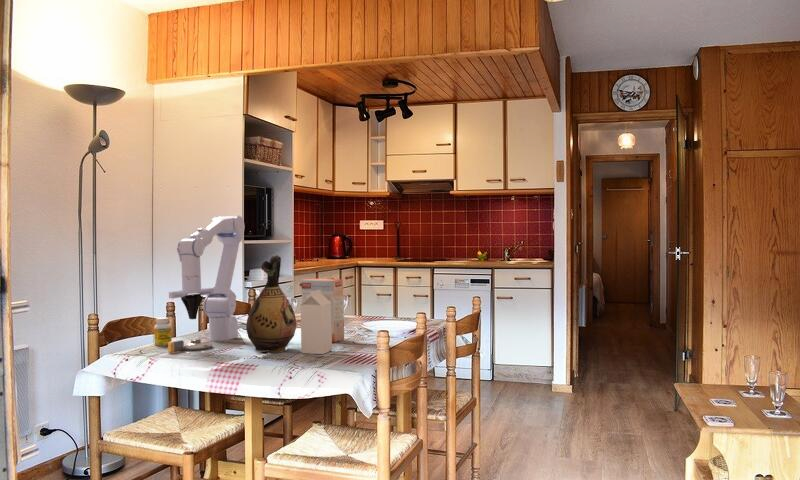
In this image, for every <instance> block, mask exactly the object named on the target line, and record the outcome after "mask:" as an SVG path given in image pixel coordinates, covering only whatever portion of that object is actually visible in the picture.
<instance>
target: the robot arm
mask: <svg viewBox="0 0 800 480" xmlns="http://www.w3.org/2000/svg"><path fill="white" fill-rule="evenodd" d="M245 227H246V226H245V222H244V218H243V217H242V216H241V215H230V216H229V215H228V216H226V215H225V216H218V215H215V216H214V217H213V218H212V219H211V222H210V224H209V225H207V227H206V228H203V227H200V228H199V227H198V228H197V229H196V232H194V233H193V234H190V235H189V237H187V238H183V239H181V240H180V241H178V243H177V247H176V252H177V255H178V258H179V259H178V260H179V262H180V263H181V264H180V265H181V284H182V285H181V287H182V288H181V290H175V291H168V299H177V298H180V300H181V301H182V303H183V304H184V307H185V309H186V311H187V315H188V319H189V320H196V319H197V316H198V311H199V308H200V305H201V304H202V309H203V312H204V313H205V314H206V317H208V332H209V333H208V335H209V337H208V338H209V339H208V340H209V341H212V342H213V341H214V342H220V341H221V342H223V341H229V340H232V339H239V331H238V330H239V329H238V326H239V325H238V324H239V323H238V319H237V317H236V316H235V315H234V313H235V311H236V308H237V295H236V294H235V291H233V290H231V286H232V281H233V276H234V273H235V267H236V261H237V258H238V252H239V246H240V243H241V242H242V241H243V238H244V233H245ZM213 237H216V239H217V240H218V241H219V242H220V243H221V244H222V245H223V247H222V252H221V256H220V261H219V267H218V271H217V274H216V280H215V283H214V284H215V285H214V287H208V288H207V287H203V288H202V279H201V278H202V274H201V273H202V271H201V256H203V255H204V251H205V249H206V247H207V246H209V245H210V244H211V243H212V242H213V239H214V238H213ZM205 295H206V296H205ZM204 296H205V299H204ZM202 301H203V302H202Z"/></svg>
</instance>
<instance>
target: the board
mask: <svg viewBox="0 0 800 480" xmlns="http://www.w3.org/2000/svg"><path fill="white" fill-rule="evenodd" d="M240 346H241V344H235V343H223V342H216V341H214V342H213V341H212V347H211V348H209V349H204V350H194V351H185V350H182V351H176V352H168V346H166V347H161V348H157V349H153V350H150V352H153V353H159V354H160V353H161V354H168V355H169V354H170V355H172V354H173V355H178V356H179V355H181V356H188V357H199V356H202V355H206V354H211V353H215V352H218V351H223V350H227V349H230V348H231V349H232V348H235V347H240Z"/></svg>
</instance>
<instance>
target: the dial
mask: <svg viewBox="0 0 800 480" xmlns="http://www.w3.org/2000/svg"><path fill="white" fill-rule="evenodd" d="M212 342H213V341H211V340H209V339H207V340H206V339H202V340H201V339H200V338H198V339H196V338H195V339H190V340H188V341H184V340H183V339H182V340H181V339H180V340H174V341H172V342H168V345H167V347H168V352H176V351H182V350H185V351H194V350H204V349H209V348H211V347H212Z"/></svg>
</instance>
